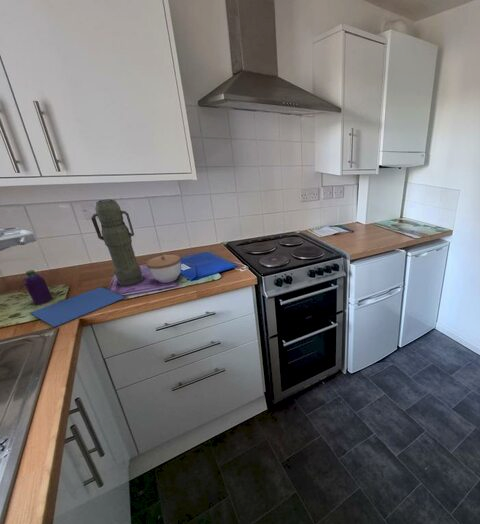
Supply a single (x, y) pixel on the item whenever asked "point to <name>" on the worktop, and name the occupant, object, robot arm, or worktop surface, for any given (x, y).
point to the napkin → (77, 306)
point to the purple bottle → (37, 288)
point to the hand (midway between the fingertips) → (6, 246)
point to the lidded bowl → (164, 268)
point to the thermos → (118, 241)
